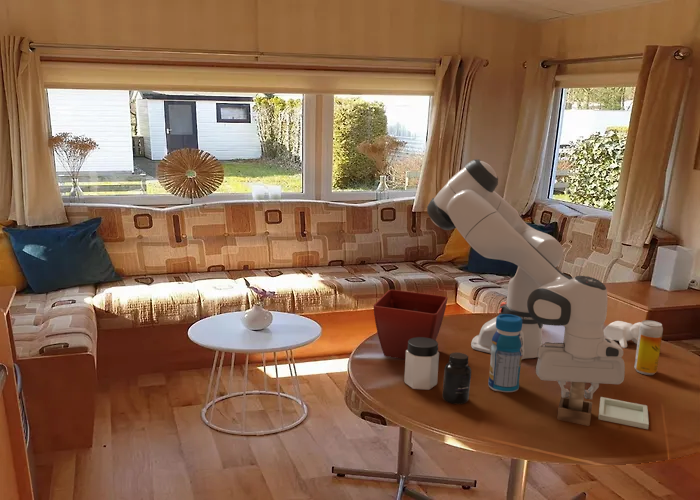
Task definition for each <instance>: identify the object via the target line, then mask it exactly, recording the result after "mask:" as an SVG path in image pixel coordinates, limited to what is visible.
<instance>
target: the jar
mask: <svg viewBox="0 0 700 500" xmlns="http://www.w3.org/2000/svg"><path fill="white" fill-rule="evenodd" d="M439 358H440V352H439V342H438V341H437V340H436V341H435V340H433V339H431V338H426V337H415V338H411V339H410V340H409V341H408V350H406V358H405V359H404V360H405V363H404V377H403V378H404V379H403V380H404V381H403V382H404V383H405V384H406V385H408V386H409V387H410V388H411V389H413V390H426V391H429V390H431V389H433V387H435V386H437V384H438V375H439V373H438V372H439V363H440V362H439V360H440V359H439Z"/></svg>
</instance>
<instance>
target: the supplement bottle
mask: <svg viewBox="0 0 700 500" xmlns="http://www.w3.org/2000/svg"><path fill="white" fill-rule="evenodd" d="M471 376H472V369H471V367H470V366H469V355H467V354H466V353H464V352H451V353H450V354H449V359H448V363H446V364H445V366H444V371H443V380H442V381H443V383H442V395H441V396H442V399H443V400H444V401H445V402H447V403H449V404H454V405H464V404H466V403H467V402H468V401H469V398H470V389H471V378H472V377H471Z"/></svg>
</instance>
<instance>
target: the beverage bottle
mask: <svg viewBox="0 0 700 500" xmlns="http://www.w3.org/2000/svg"><path fill="white" fill-rule="evenodd" d="M496 317H497V318H496V329H497V331H496V332H495V334H494V335H493V338H492V343H493V345H492V346H491V349H490V352H491V353H490V364H489V374H488V376H489V377H488V380H487V381H488V383H487V384H488V387H489V389H491V390H493V391H495V392H501V393H502V392H503V393H513V392H517V391H518V390H519V388H520V375H521V366H522V365H521V364H522V359H521V358H522V355H523V350H522V346H523V340H522V337H521V335H520V333H519V332H521V329H522V318H521V317H519V316H516V315H511V314H501V315H499V314H498V315H497V316H496Z"/></svg>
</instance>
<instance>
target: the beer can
mask: <svg viewBox="0 0 700 500" xmlns="http://www.w3.org/2000/svg"><path fill="white" fill-rule="evenodd" d="M641 322H642V323H641V324H640V329H639V336H638V343H637V344H636V351H635V359H634V360H635V361H634V369H635V371H636V372H637V373H639V374H642V375H645V376H646V375H647V376H653V375H655V373H657V372H658V368H659V367H658V366H659V360H660V353H661V345H662V339H663V331H664V328H663V324H662V323H661V322H658V321H655V320H648V319H645V320H642V321H641Z"/></svg>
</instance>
